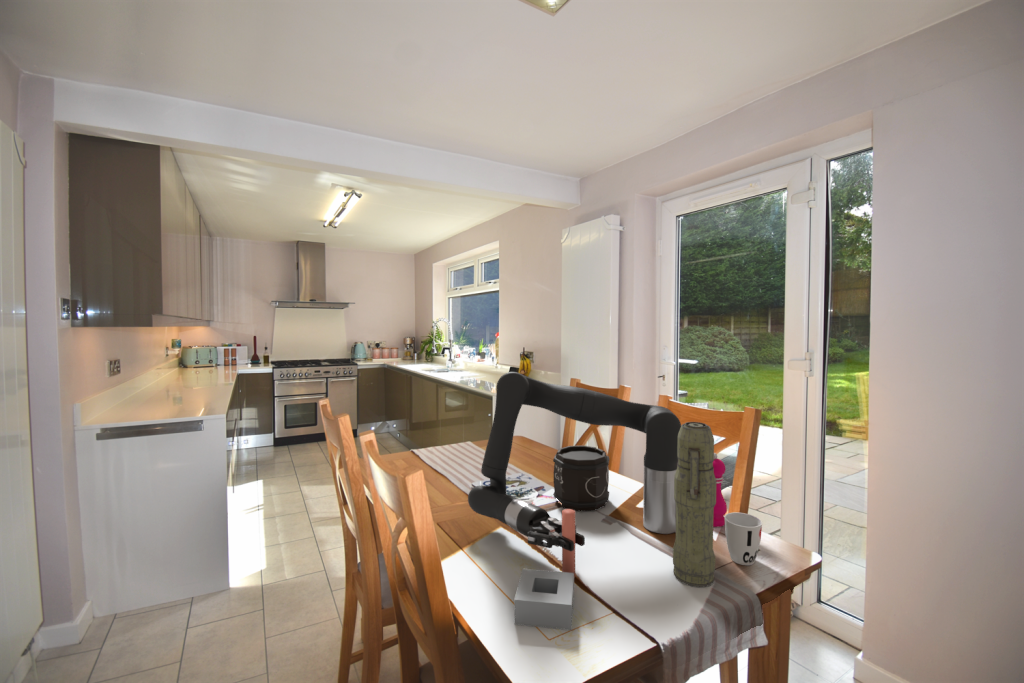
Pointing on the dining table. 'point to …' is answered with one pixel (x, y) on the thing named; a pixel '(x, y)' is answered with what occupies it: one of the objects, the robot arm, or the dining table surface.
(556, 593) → the socket block
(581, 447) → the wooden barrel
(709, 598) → the dining table surface
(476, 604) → the dining table surface
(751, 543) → the cup
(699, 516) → the thermos
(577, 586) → the dining table surface
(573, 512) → the pin
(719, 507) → the pepper mill
